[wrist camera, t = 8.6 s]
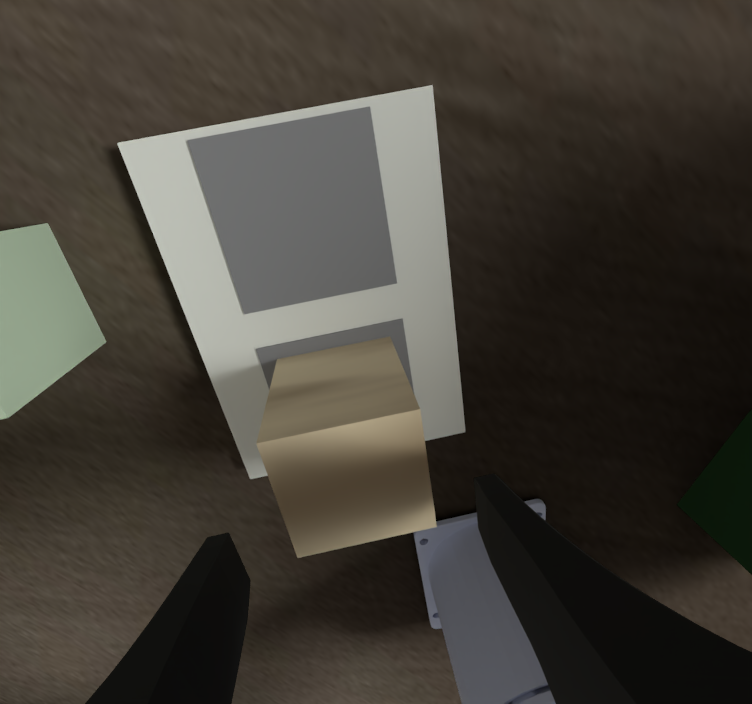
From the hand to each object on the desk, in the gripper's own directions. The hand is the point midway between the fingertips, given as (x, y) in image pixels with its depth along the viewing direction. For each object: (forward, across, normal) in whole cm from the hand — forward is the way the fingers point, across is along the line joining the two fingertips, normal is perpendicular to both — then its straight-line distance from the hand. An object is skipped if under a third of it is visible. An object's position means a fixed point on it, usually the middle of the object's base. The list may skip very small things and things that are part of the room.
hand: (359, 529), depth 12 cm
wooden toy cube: (+8, 0, 0) cm, 8 cm away
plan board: (+9, 0, -4) cm, 10 cm away
